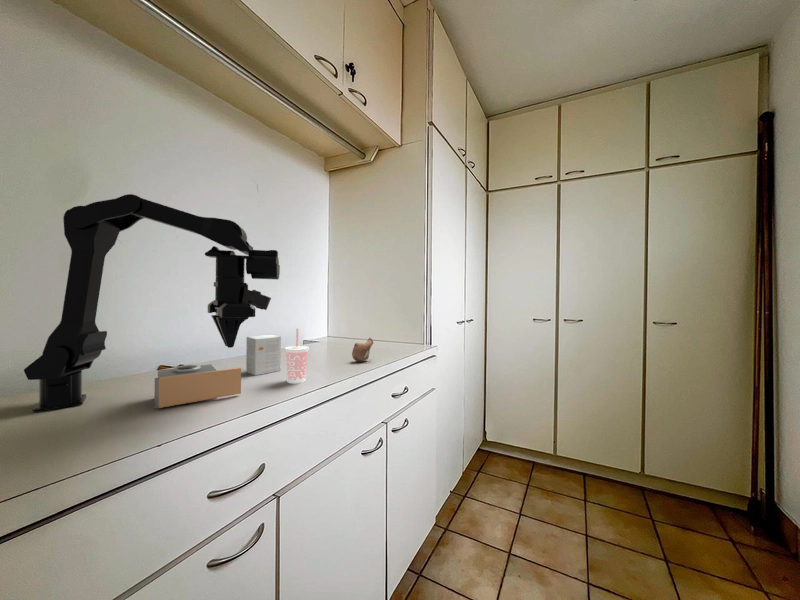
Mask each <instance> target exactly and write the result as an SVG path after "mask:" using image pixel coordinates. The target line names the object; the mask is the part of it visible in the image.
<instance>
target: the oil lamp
mask: <svg viewBox="0 0 800 600" xmlns="http://www.w3.org/2000/svg"><path fill="white" fill-rule="evenodd" d="M373 344H374V341H373V339H372V338H371V337H369V338H368V340H366V341H365V343H361V342H360V343H359V342H355V343H354V346H353V348H352V351H351V357H352V359H353V360H354V361H355V362H358V363H360V362H361V361H362V362H364V361H367V360H369V359H370V358H369V357H370V350H371V348H372V346H373Z"/></svg>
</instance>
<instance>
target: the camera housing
mask: <svg viewBox="0 0 800 600" xmlns="http://www.w3.org/2000/svg"><path fill="white" fill-rule="evenodd" d="M216 370H217V369H216V368H215V367H214V366H213V365H212V364H201V365H199V364H187V365H179V366H176V367H174V368H165V369H157V378H159V377H167V376H175V375H184V374H192V373H200V372H208V371H216ZM215 399H217V398H213V399H212V400H215ZM209 400H210V399H207V400H206V401H209ZM201 402H204V400H202V401H201ZM192 403H193V402H190V403H189V404H192ZM195 403H198V401H196V402H195ZM183 405H187V404H186V403H184V404H183ZM178 406H181V404H179V405H178ZM172 407H175V406H174V405H173V406H172ZM166 408H170V406H167V407H166ZM161 409H164V407H162V408H161Z"/></svg>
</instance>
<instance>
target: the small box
mask: <svg viewBox="0 0 800 600" xmlns="http://www.w3.org/2000/svg"><path fill="white" fill-rule="evenodd" d="M245 355H246V362H245V363H246V368H245V370H246V373H248V374H250V375H252V376H259V375H264V374H270V373H274V372H280V371H281V370H282V368H281V366H282V365H281V364H282V336H280V335H276V334H263V335H252V336H247V337H246V354H245Z"/></svg>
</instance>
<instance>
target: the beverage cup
mask: <svg viewBox="0 0 800 600" xmlns="http://www.w3.org/2000/svg"><path fill="white" fill-rule="evenodd" d="M295 332H296V334H295V335H296V336H295V338H296V341H295V345H289V346H286V347H284V352H285V358H286V359H285V361H286V381H287V383H289V384H294V385H295V384H301V383H305V382H306V377H307V367H308V366H307V365H308V355H309V354H308V352H309V348H310V347H309V346H307V345H299V328H296V331H295ZM304 381H305V382H304Z"/></svg>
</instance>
